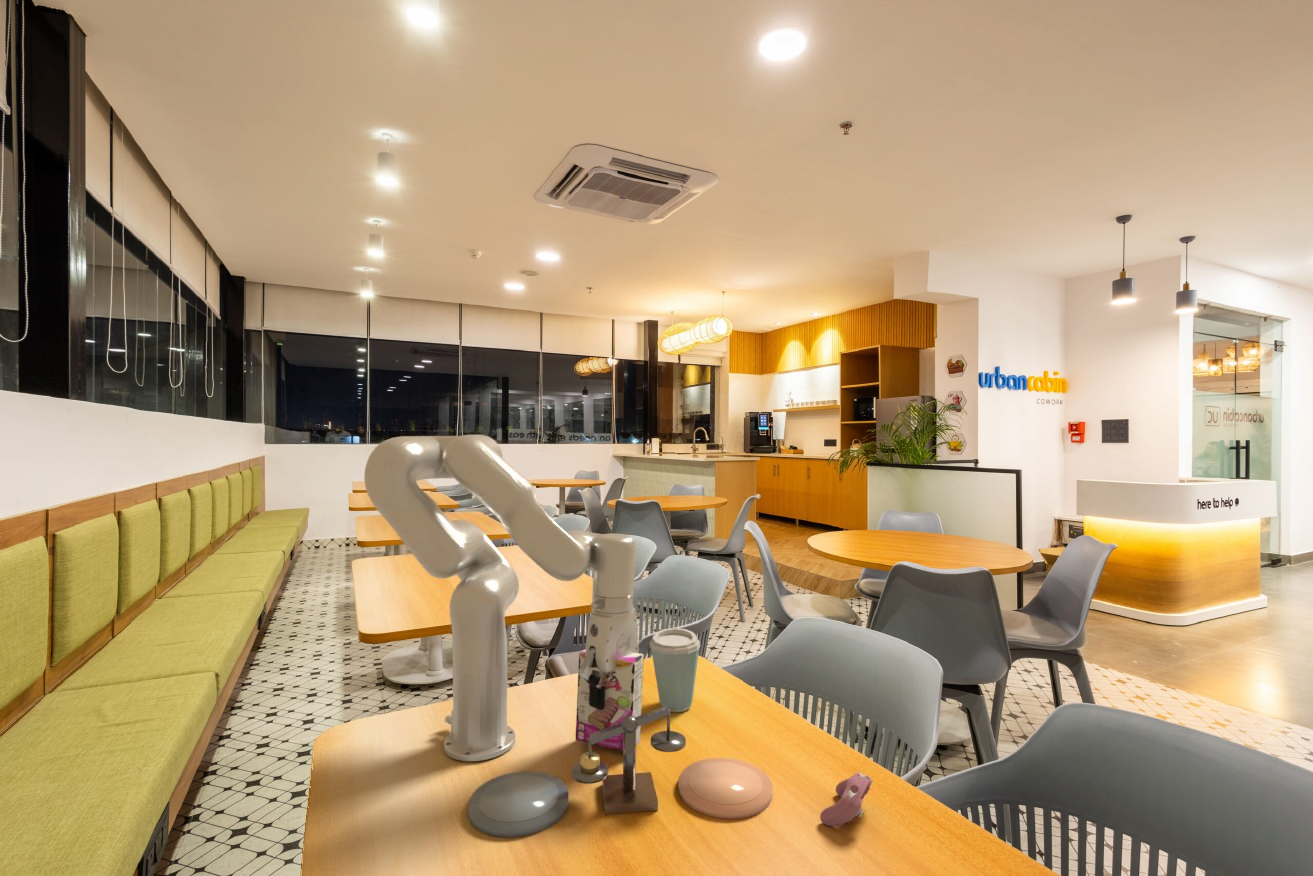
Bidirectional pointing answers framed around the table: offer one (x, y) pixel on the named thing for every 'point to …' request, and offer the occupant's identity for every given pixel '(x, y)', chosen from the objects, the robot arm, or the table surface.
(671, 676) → the disposable coffee cup
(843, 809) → the pink curved piece
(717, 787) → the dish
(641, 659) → the candy bar box
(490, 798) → the dish
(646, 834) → the table surface
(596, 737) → the balance
